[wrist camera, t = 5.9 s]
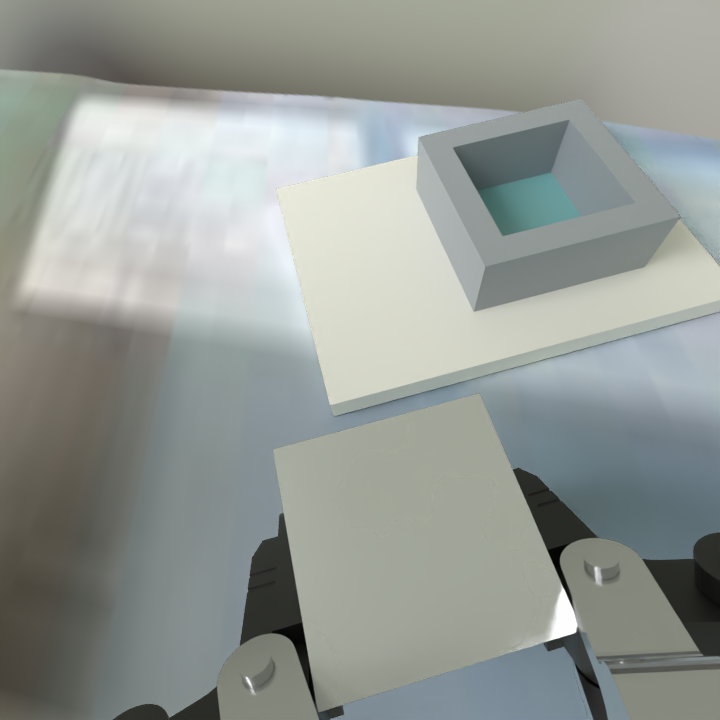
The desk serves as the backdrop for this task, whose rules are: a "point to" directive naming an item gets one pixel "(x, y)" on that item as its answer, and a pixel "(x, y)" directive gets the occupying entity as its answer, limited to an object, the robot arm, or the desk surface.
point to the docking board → (487, 256)
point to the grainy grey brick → (413, 551)
